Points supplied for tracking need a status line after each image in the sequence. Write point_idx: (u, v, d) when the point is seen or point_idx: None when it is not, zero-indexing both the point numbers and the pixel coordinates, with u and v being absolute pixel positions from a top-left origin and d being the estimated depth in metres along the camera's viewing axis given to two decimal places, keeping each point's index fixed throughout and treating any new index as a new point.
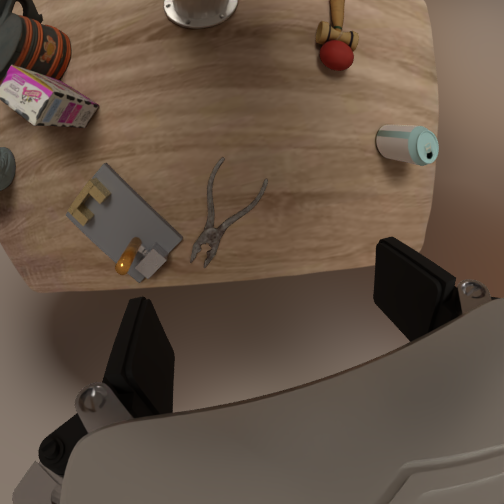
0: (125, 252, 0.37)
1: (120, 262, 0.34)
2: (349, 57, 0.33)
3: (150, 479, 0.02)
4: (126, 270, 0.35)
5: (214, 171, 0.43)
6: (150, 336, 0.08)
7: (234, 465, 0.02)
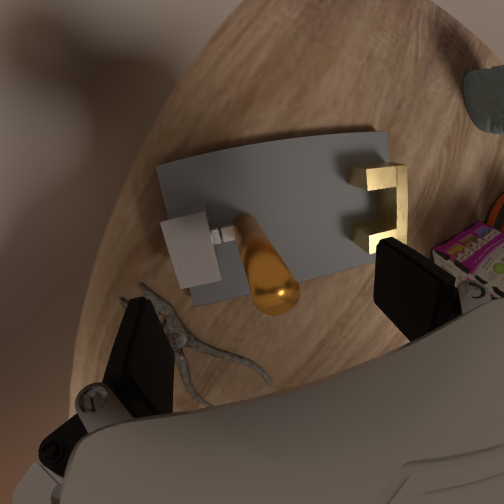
0: None
1: (293, 301, 0.12)
2: None
3: (150, 479, 0.02)
4: (261, 305, 0.11)
5: (262, 374, 0.29)
6: (150, 336, 0.08)
7: (234, 465, 0.02)
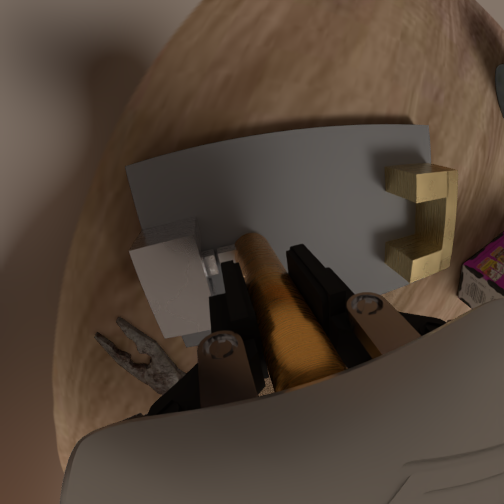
0: None
1: None
2: None
3: (150, 479, 0.02)
4: None
5: None
6: None
7: (234, 465, 0.02)
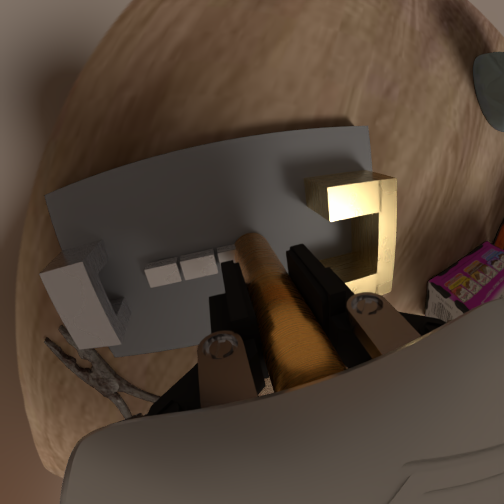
0: None
1: None
2: None
3: (150, 479, 0.02)
4: None
5: None
6: None
7: (234, 465, 0.02)
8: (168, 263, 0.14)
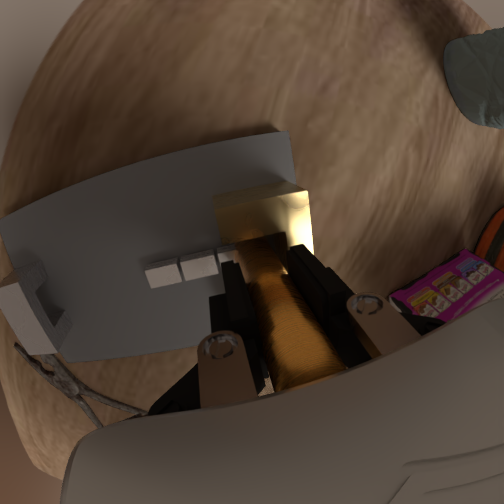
0: None
1: None
2: None
3: (150, 479, 0.02)
4: None
5: None
6: None
7: (234, 465, 0.02)
8: (168, 264, 0.14)
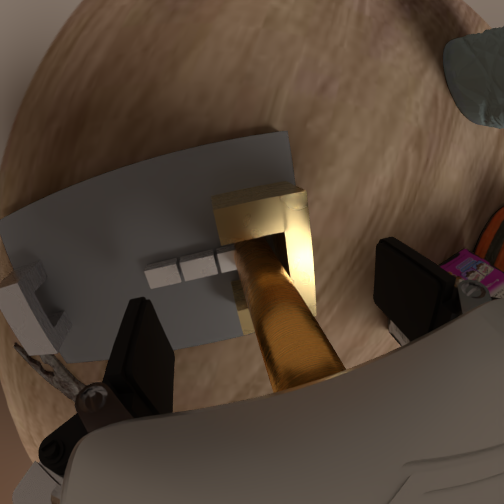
0: None
1: None
2: None
3: (151, 479, 0.02)
4: None
5: None
6: (150, 336, 0.08)
7: (234, 465, 0.02)
8: (168, 264, 0.14)
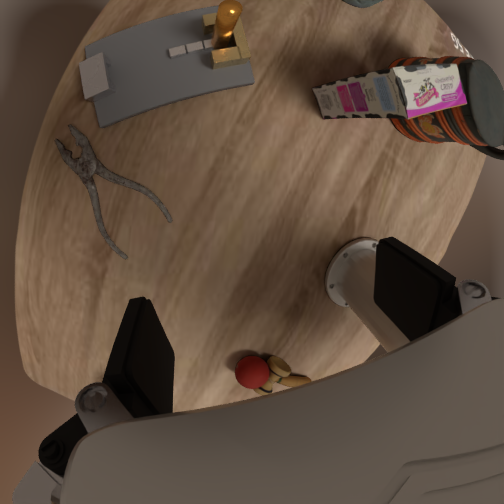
0: (235, 25, 0.18)
1: (239, 12, 0.15)
2: (248, 386, 0.41)
3: (150, 479, 0.02)
4: (222, 11, 0.15)
5: (159, 204, 0.32)
6: (150, 336, 0.08)
7: (234, 465, 0.02)
8: (180, 46, 0.23)
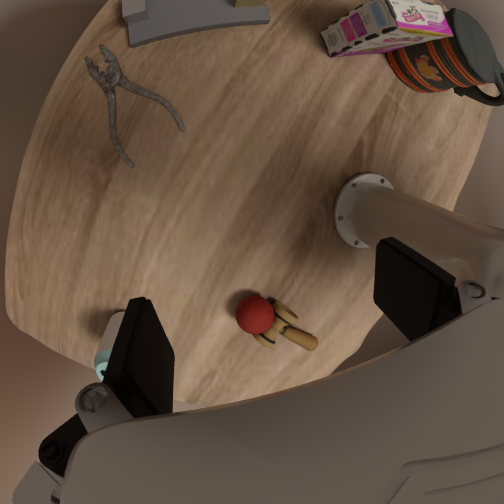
0: None
1: None
2: (249, 328, 0.39)
3: (150, 479, 0.02)
4: None
5: (173, 113, 0.31)
6: (150, 336, 0.08)
7: (234, 465, 0.02)
8: None
